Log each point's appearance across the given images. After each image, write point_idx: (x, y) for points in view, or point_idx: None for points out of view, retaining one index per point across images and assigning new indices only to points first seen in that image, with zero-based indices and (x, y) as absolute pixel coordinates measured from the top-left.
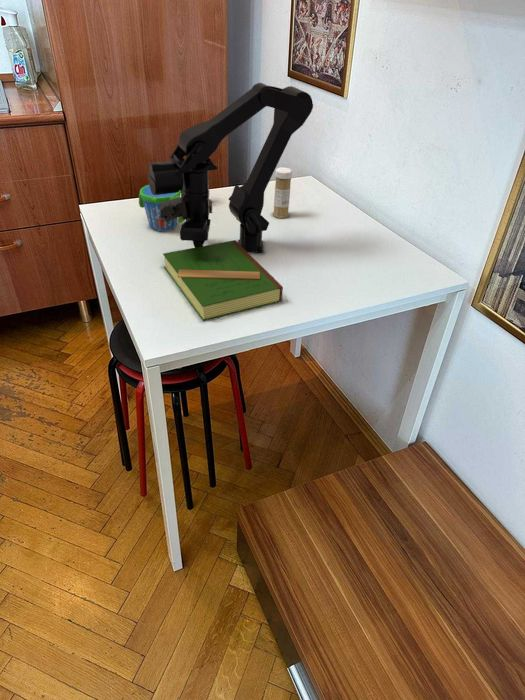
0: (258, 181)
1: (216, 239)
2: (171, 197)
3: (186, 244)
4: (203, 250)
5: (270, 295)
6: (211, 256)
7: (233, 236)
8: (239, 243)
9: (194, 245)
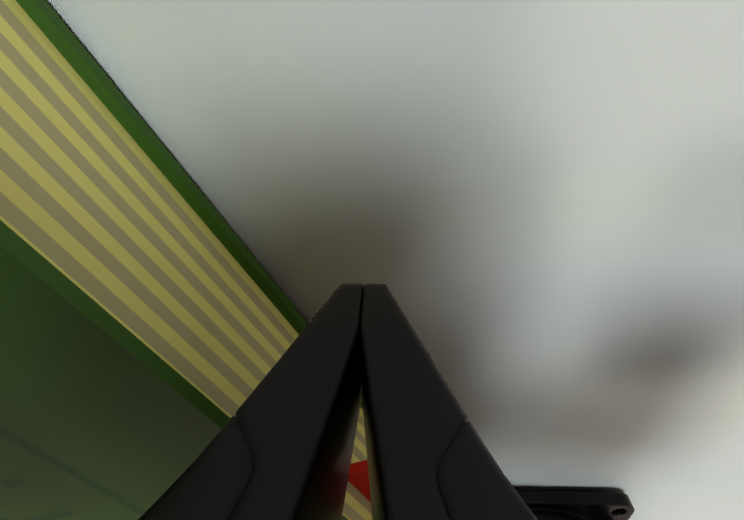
0: None
1: (732, 380)
2: None
3: (741, 83)
4: (125, 458)
5: None
6: (20, 511)
7: (732, 468)
8: (563, 508)
9: (288, 350)
